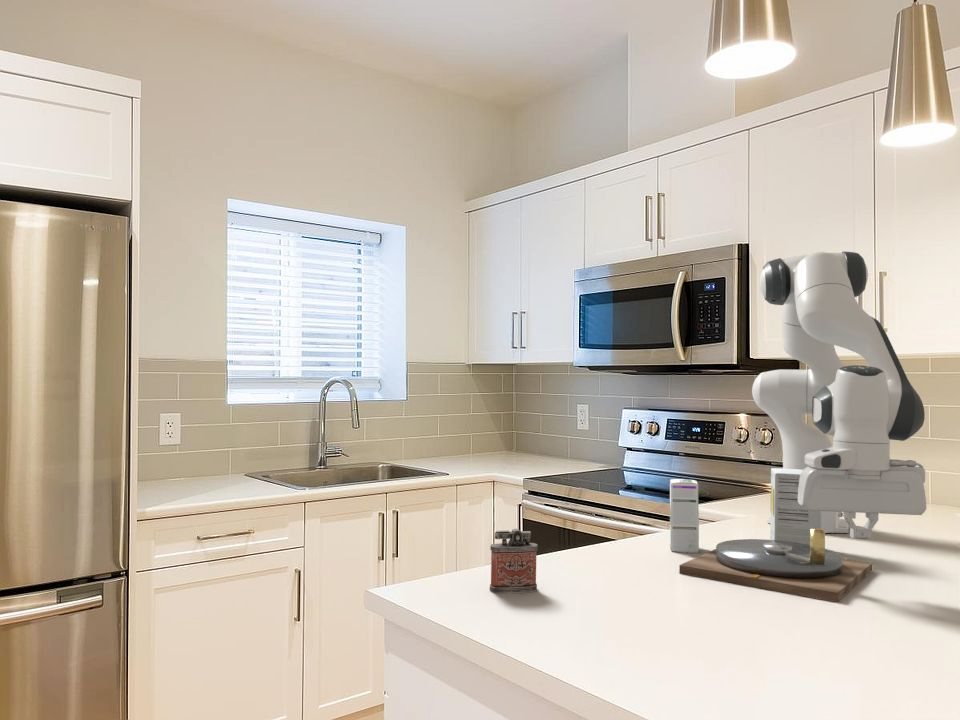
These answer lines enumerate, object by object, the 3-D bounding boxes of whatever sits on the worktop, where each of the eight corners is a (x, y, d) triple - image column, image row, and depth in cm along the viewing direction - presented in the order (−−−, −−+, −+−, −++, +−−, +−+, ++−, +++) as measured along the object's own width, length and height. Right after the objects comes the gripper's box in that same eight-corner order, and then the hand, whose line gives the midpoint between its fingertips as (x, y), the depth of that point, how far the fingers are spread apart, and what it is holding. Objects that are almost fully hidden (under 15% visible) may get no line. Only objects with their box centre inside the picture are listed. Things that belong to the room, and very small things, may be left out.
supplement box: (769, 543, 166) (770, 467, 166) (814, 547, 163) (815, 469, 164) (773, 553, 157) (774, 472, 157) (821, 557, 154) (822, 474, 155)
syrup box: (699, 553, 155) (700, 482, 156) (669, 551, 156) (670, 481, 157) (697, 547, 161) (697, 479, 161) (668, 545, 162) (669, 478, 162)
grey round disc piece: (691, 553, 147) (692, 512, 147) (779, 546, 155) (780, 507, 155) (774, 582, 127) (774, 534, 127) (870, 572, 135) (870, 527, 135)
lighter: (533, 586, 128) (534, 527, 128) (539, 591, 125) (540, 531, 125) (487, 588, 126) (488, 528, 127) (492, 593, 123) (493, 532, 123)
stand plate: (731, 549, 160) (731, 541, 160) (872, 570, 143) (872, 561, 143) (679, 573, 139) (679, 563, 139) (837, 602, 122) (837, 591, 122)
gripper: (917, 458, 132) (917, 537, 132) (795, 454, 135) (794, 532, 135) (933, 462, 126) (933, 545, 126) (805, 458, 129) (804, 538, 129)
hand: (860, 538), depth 130 cm, fingers closed
